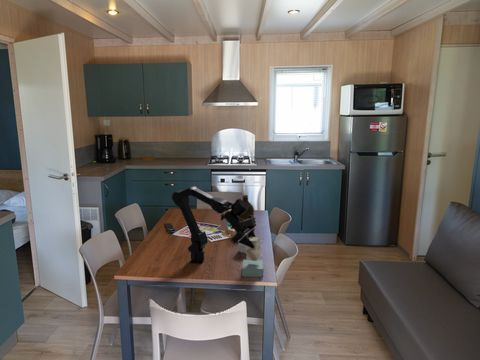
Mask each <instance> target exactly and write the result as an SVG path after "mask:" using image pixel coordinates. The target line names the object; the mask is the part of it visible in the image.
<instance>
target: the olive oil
mask: <svg viewBox="0 0 480 360" xmlns="http://www.w3.org/2000/svg"><path fill="white" fill-rule="evenodd" d="M242 200H243V201H245V202H246V203H247V204H248V206H249V208H248V209H247V210H246V211H245V212H244V213H243V214H242V215H241V216H238V217H239V218H240V219H241V218H243V219H244V220H246V219H248V216H250V215H252V216H254V214H255V210H254V206H253V205H252V203H251V202H250V201H249V196H248V194H243V195H242ZM254 217H255V216H254Z"/></svg>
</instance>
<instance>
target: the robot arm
mask: <svg viewBox="0 0 480 360" xmlns="http://www.w3.org/2000/svg"><path fill="white" fill-rule="evenodd" d="M189 196H191V197H193V198H195V199H197V200H199V201H201V202H202V203H205V204H207V205H208V206H210V207H211V209H212V210H213V211H215V212H216V213H217V214H221V215H220V220H221V221H223V220H225V221H226V222H227V223H228V224H229V225H230V230H233V231H235V232H236V234H235V235H234V236H233V237H232V238H231V242H232V243H233V245H235V244H236V243H237V244H238V243H241V244H244V245H246V246H248V247H250V248H254V245H253V244H252V242H251V241H250V240H249V237H257V236H256V234H255V229H256V228H255V227H256V226H257V224H256V223H257V222H256V217H255V216H252V215H250V216H248V219H246V220H244V219H243V218H241V219H240V218H239V217H238V216H241V215H242V214H243V213H244V212H245V211H246V210H247V209H248V208H249V206H248V204H247V203H246V202H245V201H243V199H241V198H237V199H236V200H235V202H230V201H229V200H227V199H225V198H222V197H221V198H220V197H215V196H213V195H211V194H209V193H207V192H205V191H203V190H201V189H199V188H198V187H197V186H195V185H194V186H190V187H188V188H186V189H179V190H177V191H173V192H172V195H171V200H172V201H173V204H174V205H175V206H176V207H178V209H180V211H181V214H182V217H183V218H184V221H185V223H186V225H187V227H188V229H189V232H190V242H191V244H190V245H189V246H188V247H187V250H188V252H189V253H190V261H189V262H190V264H191V263H192V264H202V263H203V262H204V261H205V255H206V253H205V251H204V248H206V245H207V244H208V242H209V241H208V240H209V239H208V238H209V237H208V236H207V234H206V231H202V230H201V229H200V228H199V225H198V223H197V220H196V218H195V215H194V214H193V211H192V209H191V206H190V197H189ZM238 240H239V242H238Z"/></svg>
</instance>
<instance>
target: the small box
mask: <svg viewBox="0 0 480 360" xmlns="http://www.w3.org/2000/svg"><path fill="white" fill-rule="evenodd" d="M238 242H239V240H238V241H237V245H238V246H237V251H238V252H239V253H242V254H246V255H247V246H246V245H244V244H241V243H238Z"/></svg>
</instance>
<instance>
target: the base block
mask: <svg viewBox="0 0 480 360" xmlns="http://www.w3.org/2000/svg"><path fill="white" fill-rule="evenodd" d="M242 261H243V262H242V266H241V275H242V277H255V278H256V277H259V278H260V277H261V278H262V277H264V260H263V259H258V260H257V261H252V260H247V259H243V260H242Z"/></svg>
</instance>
